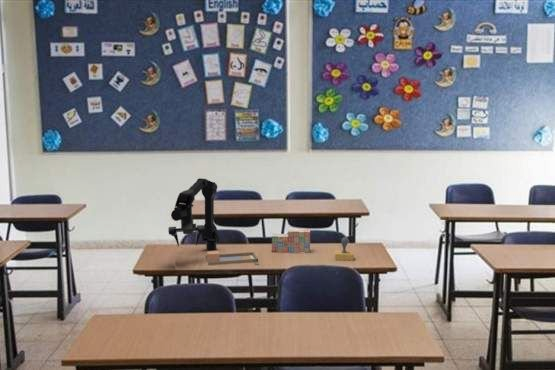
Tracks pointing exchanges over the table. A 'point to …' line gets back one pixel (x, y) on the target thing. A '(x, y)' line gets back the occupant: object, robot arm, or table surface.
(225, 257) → the box
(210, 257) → the terracotta block
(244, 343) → the table surface
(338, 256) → the rubber stamp
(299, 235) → the stack of blocks
